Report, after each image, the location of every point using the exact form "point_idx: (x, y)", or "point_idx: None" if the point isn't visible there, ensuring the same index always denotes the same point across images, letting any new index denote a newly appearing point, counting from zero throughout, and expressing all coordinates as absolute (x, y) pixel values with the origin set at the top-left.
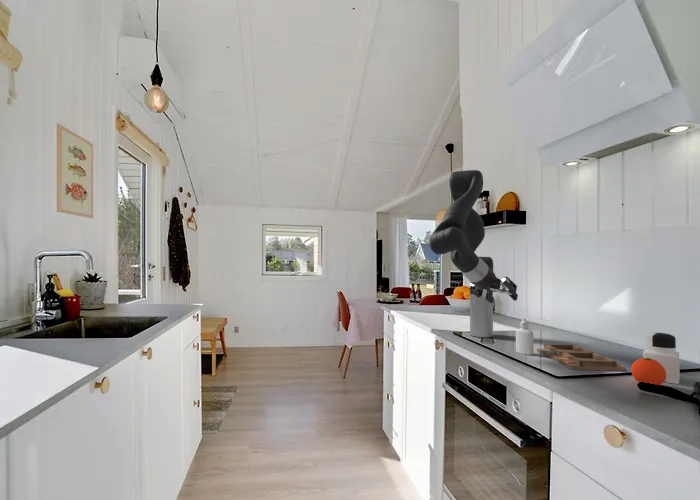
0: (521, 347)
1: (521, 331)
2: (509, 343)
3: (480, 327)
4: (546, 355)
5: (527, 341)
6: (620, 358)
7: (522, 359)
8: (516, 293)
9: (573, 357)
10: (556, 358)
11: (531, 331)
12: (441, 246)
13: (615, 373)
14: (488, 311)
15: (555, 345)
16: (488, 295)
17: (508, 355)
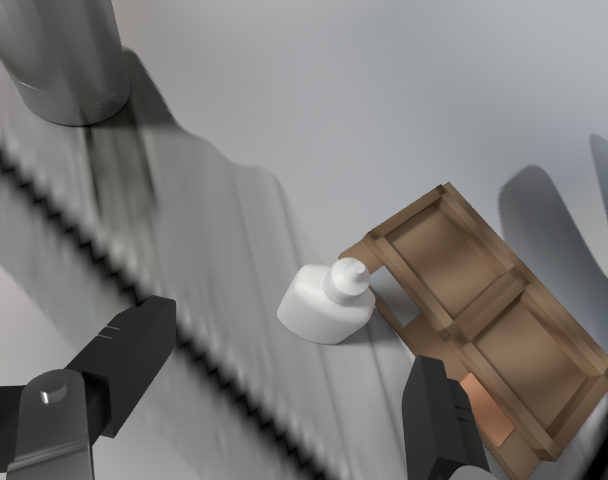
0: (309, 333)
1: (329, 314)
2: (217, 177)
3: (65, 92)
4: (387, 318)
5: (344, 333)
6: (540, 212)
7: (332, 441)
8: (472, 416)
9: (515, 411)
10: None
11: (372, 302)
12: None
13: (603, 426)
14: (84, 6)
15: (400, 224)
16: (120, 395)
17: (265, 405)
